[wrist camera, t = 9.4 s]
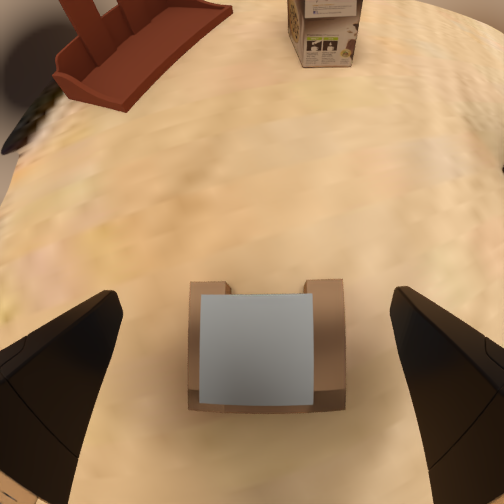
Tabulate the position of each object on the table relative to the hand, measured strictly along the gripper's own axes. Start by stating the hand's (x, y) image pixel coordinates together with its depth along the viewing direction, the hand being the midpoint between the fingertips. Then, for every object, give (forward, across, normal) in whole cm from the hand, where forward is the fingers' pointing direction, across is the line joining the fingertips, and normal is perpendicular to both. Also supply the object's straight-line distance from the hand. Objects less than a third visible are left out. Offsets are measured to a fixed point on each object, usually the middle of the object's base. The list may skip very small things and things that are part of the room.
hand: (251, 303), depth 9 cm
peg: (+9, 0, +11) cm, 14 cm away
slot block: (+9, 0, +11) cm, 14 cm away
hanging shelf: (+36, +16, -16) cm, 42 cm away
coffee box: (+33, -7, -13) cm, 36 cm away
